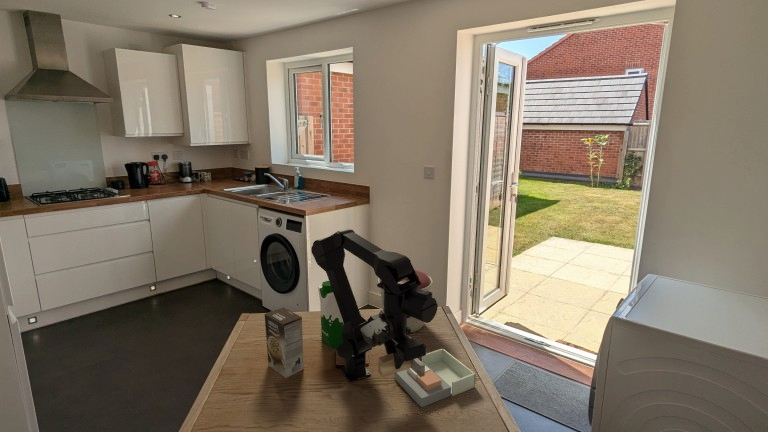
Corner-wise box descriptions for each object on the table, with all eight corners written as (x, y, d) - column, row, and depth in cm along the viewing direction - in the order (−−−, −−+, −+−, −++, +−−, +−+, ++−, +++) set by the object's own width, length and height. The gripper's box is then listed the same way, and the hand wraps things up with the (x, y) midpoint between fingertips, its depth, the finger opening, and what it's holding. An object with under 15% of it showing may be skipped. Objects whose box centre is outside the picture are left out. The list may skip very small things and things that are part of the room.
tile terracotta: (416, 380, 107) (416, 375, 106) (431, 375, 109) (431, 370, 108) (426, 390, 103) (426, 385, 102) (441, 385, 105) (441, 380, 105)
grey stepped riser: (394, 378, 112) (394, 370, 111) (421, 369, 116) (422, 361, 115) (421, 407, 101) (421, 398, 100) (450, 395, 105) (451, 386, 104)
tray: (421, 367, 116) (421, 355, 115) (442, 360, 120) (442, 348, 119) (452, 396, 104) (453, 382, 104) (474, 387, 108) (475, 373, 107)
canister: (438, 336, 133) (441, 274, 128) (384, 342, 130) (384, 279, 125) (422, 311, 150) (423, 256, 146) (373, 315, 147) (373, 259, 142)
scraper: (370, 363, 105) (370, 349, 104) (400, 353, 110) (401, 340, 109) (391, 387, 96) (392, 372, 95) (424, 375, 100) (425, 361, 99)
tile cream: (406, 370, 111) (406, 365, 110) (420, 366, 113) (420, 361, 113) (415, 379, 107) (415, 374, 107) (429, 374, 109) (430, 369, 109)
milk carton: (317, 339, 131) (315, 280, 127) (342, 331, 136) (341, 274, 132) (330, 351, 124) (328, 289, 120) (356, 342, 129) (355, 283, 125)
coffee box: (267, 365, 117) (263, 313, 114) (286, 356, 122) (283, 305, 118) (285, 379, 111) (282, 324, 108) (305, 368, 116) (302, 316, 112)
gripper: (348, 300, 103) (349, 356, 106) (385, 333, 87) (385, 398, 91) (387, 291, 108) (387, 344, 112) (428, 321, 92) (426, 382, 96)
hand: (394, 365), depth 102 cm, fingers closed on scraper, 2 cm apart
